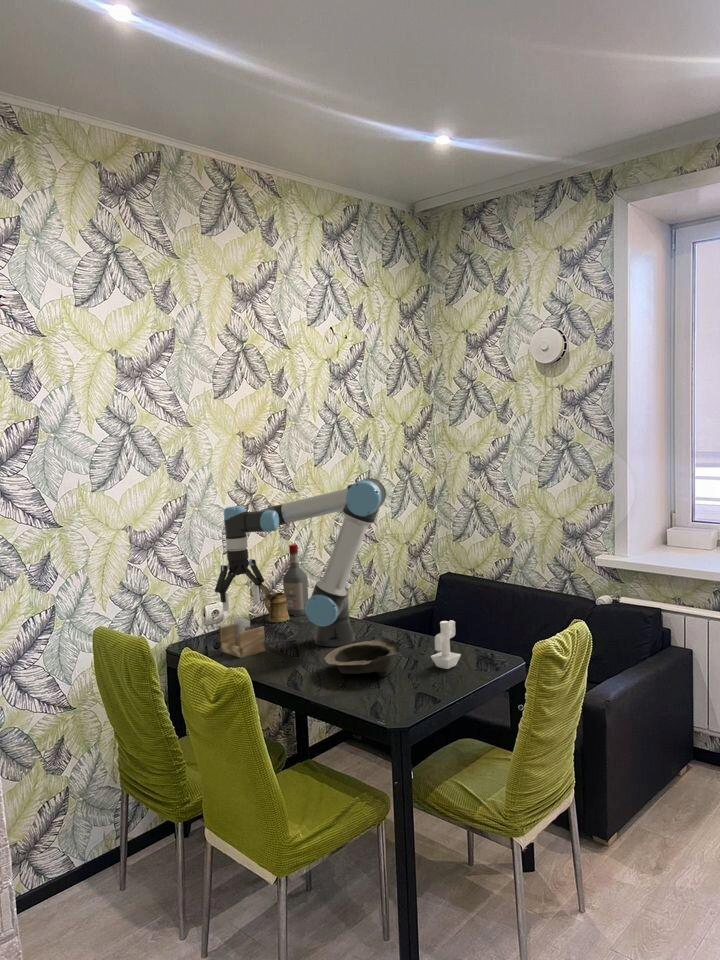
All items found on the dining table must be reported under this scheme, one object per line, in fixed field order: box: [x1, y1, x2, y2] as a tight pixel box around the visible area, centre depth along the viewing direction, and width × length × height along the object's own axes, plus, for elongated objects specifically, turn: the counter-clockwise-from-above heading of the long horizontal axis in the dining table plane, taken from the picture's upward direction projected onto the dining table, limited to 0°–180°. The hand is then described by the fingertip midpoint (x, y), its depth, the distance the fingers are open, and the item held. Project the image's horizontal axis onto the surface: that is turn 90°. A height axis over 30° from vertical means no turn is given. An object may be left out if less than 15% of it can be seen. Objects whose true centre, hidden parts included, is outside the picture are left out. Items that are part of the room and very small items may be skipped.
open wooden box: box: [219, 623, 266, 659], centre depth 269 cm, size 13×11×9 cm
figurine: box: [430, 619, 462, 670], centre depth 242 cm, size 7×9×15 cm
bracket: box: [232, 617, 251, 647], centre depth 269 cm, size 7×6×11 cm
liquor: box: [282, 544, 309, 617], centre depth 320 cm, size 9×9×30 cm
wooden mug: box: [260, 583, 291, 624], centre depth 309 cm, size 9×14×18 cm, turn 128°
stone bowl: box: [323, 637, 401, 678], centre depth 241 cm, size 25×25×9 cm
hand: (241, 606), depth 268 cm, fingers open, 13 cm apart
